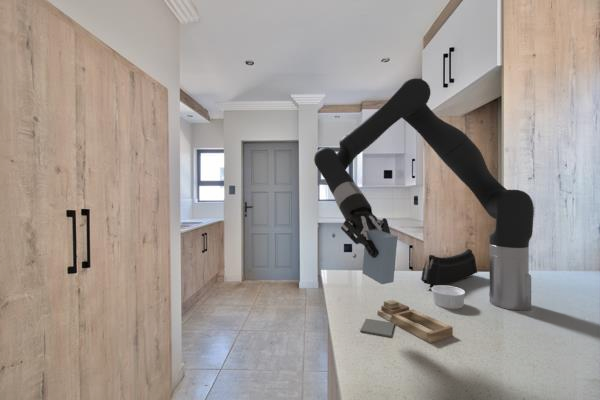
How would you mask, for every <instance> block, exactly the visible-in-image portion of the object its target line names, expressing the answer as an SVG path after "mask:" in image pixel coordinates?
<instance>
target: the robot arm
mask: <svg viewBox="0 0 600 400" xmlns="http://www.w3.org/2000/svg"><path fill="white" fill-rule="evenodd" d="M430 97H431V87H430V84H429V83H428V82H427V81H426V80H424V79H422V78H416V77H415V78H411V79H408V80H406V81H405V82H404V83H402V84H401V85H400V86H399V88H397V90H396V92H395V93H394V94H393V95H392V96H391V97H390V98H389V99H388V100H387V101H386V102H385V103H384V104H383V105H381V107H380V108H378V109H377V110H376V111H375V112H374V113H373V114H371V115H370V116H368V117H367V118H366V119H364V120H363V121H362V122H361V123H359V124H358V125H356V127H353V129H351V131H349V132H348V133H347V134H346V135H344V136H343V137H342V138H341V139H340V140H339V150H338V152H336V151H335V150H334V149H333V148H331V147H329V146H328V147H327V146H326V147H320V148H319V149H318V150H317V151H316V152H315V154H314V157H313V161H314V164H315V167H317V169H318V171H319V172H320V174H321V176H322V177H323V179H324V180H325V182H326V184H327V187H328V188H329V190H330V192H331V194H332V196H333V198H334V202H335V203H336V205H337V207H338V209H339V210H340V212H341V214H342V217H343V218H344V220H345V221H344V222H343V224H342V225H341V227H340V229H341V230H342V232H344V233H345V235H346V236H347V237H348V238H349V239H350V240H351V241H352V242H353V243H354V244H355V245H359V244H361V246H363V247H365V248H366V250H367V251H368V253H369V255H370V256H372V258H376V257H377V255H378V254H379V252H378V250H377V248H376V246H375V245H374V243H373V241H372V240H370V239H371V238H370V236H369V234H368V231H369V230H380V231H383V232H386V233H389V234H392V233H391V230H390V226H389V222H388V219H387V218H386V217H385V218H382V219H379V218H378V217H377V216H376V215H374V214H373V208H372V206H371V204H370V202H369V201H368V199H367V198H366V196H365V195H364V192H363V191H362V190H361V188H359V186H358V185H357V184H356V182H355V181H354V179H353V178H352V176H351V175H350V174H349V173H348V172H347V168H348V167H349V166H350V165H351V164H352V162H354V159H355V158H356V157H357V156H358V155H359V154H361V153H362V152H364V151H365V150H366V149H367V148H369V147H370V146H371V145H372V144H373V143H374V142H376V141H377V140H378V139H379V138H380V137H381V136H383V134H384V133H385V132H386V131H387V130H389V129H390V128H391V127H392V126H393V125H394V124H396V123H397V122H398V121H400V120H401V119H403V120H404V121H405V122H406V123H407V124H408V125H410V126H411V127H412V128H413V129H414V130H415V131H416V132H417V133H418V134H419V135H420V136H421V137H422V138H423V140H424V141H425V142H426V143H427V144H428V146H429V147H431V149H432V150H433V151H434V152H435V153H436V154H437V156H438V158H439V159H440V160H442V161H443V163H444V164H445V165H446V166H447V167H448V168H449V169H450V170H451V171H452V172H453V173H454V174H455V175H456V176H457V177H458V179H460V181H461V182H462V183H463V184H464V185H465V186H466V187H468V189H469V190H470V191H471V193H473V195H474V197H476V199H477V200H478V202H479V203H480V204H481V206H482V207H483V209H484V210H485V212H486V213H487V214H488V215H489V216H490V217H491V218H493V219H495V229H494V231H493V232H492V233H491V234H490V235H489V293H488V295H489V303H490V304H492V305H494V306H496V307H500V308H501V309H502V308H503V309H506V310H507V309H508V310H512V311H513V310H515V311H523V310H527V311H529V310H530V311H532V275H531V274H530V270H529V268H530V267H529V265H530V263H529V262H530V254H529V253H530V252H529V251H530V250H529V249H530V248H529V247H530V241H531V238H532V236H533V232H534V231H533V230H534V229H533V228H534V216H535V215H534V214H535V213H534V208H535V207H534V203H533V200H532V198H531V196H530V195H529V194H528V193H527V192H525V191H523V190H519V189H507V188H506V187H505V186H503V185H502V183H500V182H499V181H498V180H497V179H496V178H495V177H494V176H493V174H492V173H491V172H490V170H489V168H488V166H487V164H486V161H485V158H484V155H483V153H482V152H481V150H480V149H479V148H478V147H477V145H476V144H475V143H474V142H473V141H472V139H470V137H469V136H468V135H467V134H465V133H464V132H463V131H462V130H460V129H459V128H457V127H455V126H454V125H452V124H450V123H448V122H446V121H444V120H442V119H441V118H439V117H438V116H437V115H436V114H435V113H434V112H433V110H432V109H431V108H430V106H428V102H429V100H430Z"/></svg>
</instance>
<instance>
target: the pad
mask: <svg viewBox="0 0 600 400" xmlns="http://www.w3.org/2000/svg"><path fill="white" fill-rule="evenodd" d="M394 328H395V324H394V323H392V321H386V320H378V319H371V318H365V320H364V322H363V324H362V326H361V328H360V331H359V332H360V333H364V334H371V335H376V336H382V337H386V338H392V336H393V332H394Z"/></svg>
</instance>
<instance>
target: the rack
mask: <svg viewBox="0 0 600 400" xmlns="http://www.w3.org/2000/svg"><path fill="white" fill-rule="evenodd" d="M377 315H378V316H379V317H381V318H383V319H384V320H387V322H391V323H394V326H397V327H399V328H401V329H403V330H405V331H406V332H409V333H410V334H412V335H414V336H416V337H418V338H419V339H422V340H423V341H425V342H426V343H428V344H432V343H436V342H438V341H441V340H444V339H448V338H450V337H452V336H454V335H453V334H454V333H453V332H454V330H453V329H454V327H453V326H451V325H449V324H447V323H444V322H442V321H439V320H437V319H435V318H434V317H431V316H428V315H426V314H424V313H421V312H419V311H417V310H415V309H410V306H408V305H405V304H403V303H401V302H399V301H397V300H394V299H389V300H384V301H383V305H381V307H380V309H378V310H377ZM426 327H427V328H426Z"/></svg>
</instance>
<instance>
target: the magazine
mask: <svg viewBox="0 0 600 400" xmlns="http://www.w3.org/2000/svg"><path fill="white" fill-rule="evenodd" d="M475 257H476V256H475V255H474V253H473V250H472V249H469V248H468V249H466V250H465V251H463V252H462V253H458V254H455V255H452V256H445V257H439V256H436V255H433V254H430V255H429V256H428V258H427V260H426V261H425V264H424V266H423V268H422V273H421V277H420V278H421V282H423V283H424V284H427V285H429V287H430V288H432V287H433V286H438V285H452V284H455V283H458V282H462V281H463V280H466V279H467V278H469V277H471V276H473V275H475V274H477V273H478V269H477V268H478V267H477V263H476V258H475Z"/></svg>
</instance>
